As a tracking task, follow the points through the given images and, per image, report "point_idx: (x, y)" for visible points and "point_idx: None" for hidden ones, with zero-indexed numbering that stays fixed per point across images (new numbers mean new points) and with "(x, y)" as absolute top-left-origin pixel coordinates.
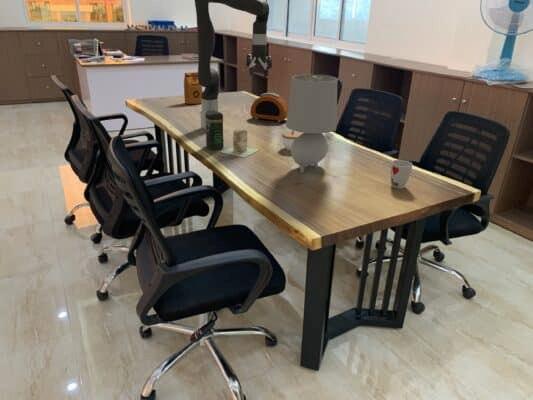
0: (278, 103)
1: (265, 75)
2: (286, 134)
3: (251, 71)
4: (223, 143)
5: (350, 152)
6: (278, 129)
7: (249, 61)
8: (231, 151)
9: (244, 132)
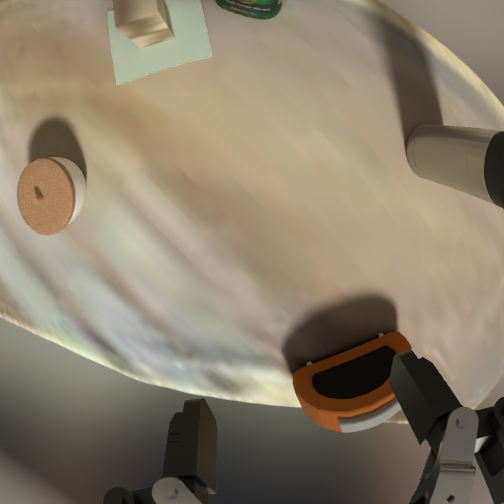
0: (324, 404)
1: (185, 416)
2: (45, 172)
3: (416, 387)
4: (219, 1)
5: (4, 282)
6: (254, 312)
7: (501, 467)
8: (171, 6)
9: (114, 11)
